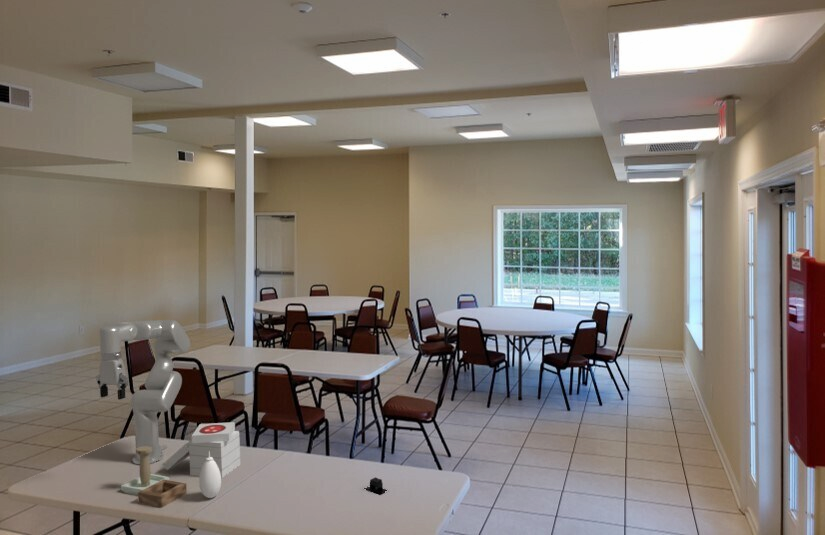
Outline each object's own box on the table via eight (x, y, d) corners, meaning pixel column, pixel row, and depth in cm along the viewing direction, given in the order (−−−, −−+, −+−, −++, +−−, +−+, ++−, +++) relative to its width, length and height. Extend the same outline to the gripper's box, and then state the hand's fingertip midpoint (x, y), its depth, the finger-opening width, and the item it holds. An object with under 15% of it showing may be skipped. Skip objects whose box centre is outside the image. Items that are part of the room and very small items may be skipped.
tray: (147, 479, 245) (147, 473, 245) (169, 483, 240) (169, 477, 240) (121, 492, 233) (120, 485, 233) (144, 496, 228) (143, 490, 228)
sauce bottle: (202, 503, 221) (200, 456, 220) (198, 496, 228) (196, 450, 227) (224, 498, 225) (222, 451, 224) (218, 491, 232) (217, 445, 231)
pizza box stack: (186, 458, 267) (184, 419, 266) (247, 463, 260) (245, 422, 259) (159, 475, 248) (157, 433, 247) (223, 481, 241) (222, 437, 240)
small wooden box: (164, 489, 234) (163, 479, 234) (186, 493, 230) (186, 483, 230) (138, 502, 223) (138, 492, 223) (161, 507, 219) (161, 497, 218)
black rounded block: (394, 492, 229) (393, 480, 229) (381, 498, 223) (380, 487, 223) (371, 483, 237) (371, 472, 237) (358, 490, 232) (357, 478, 231)
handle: (146, 489, 233) (145, 451, 232) (134, 486, 236) (133, 449, 235) (156, 484, 237) (154, 447, 237) (144, 481, 240) (142, 445, 239)
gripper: (134, 355, 242) (136, 397, 243) (103, 353, 249) (105, 393, 250) (118, 359, 235) (120, 402, 236) (87, 357, 242) (89, 398, 243)
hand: (113, 397), depth 243 cm, fingers open, 9 cm apart
